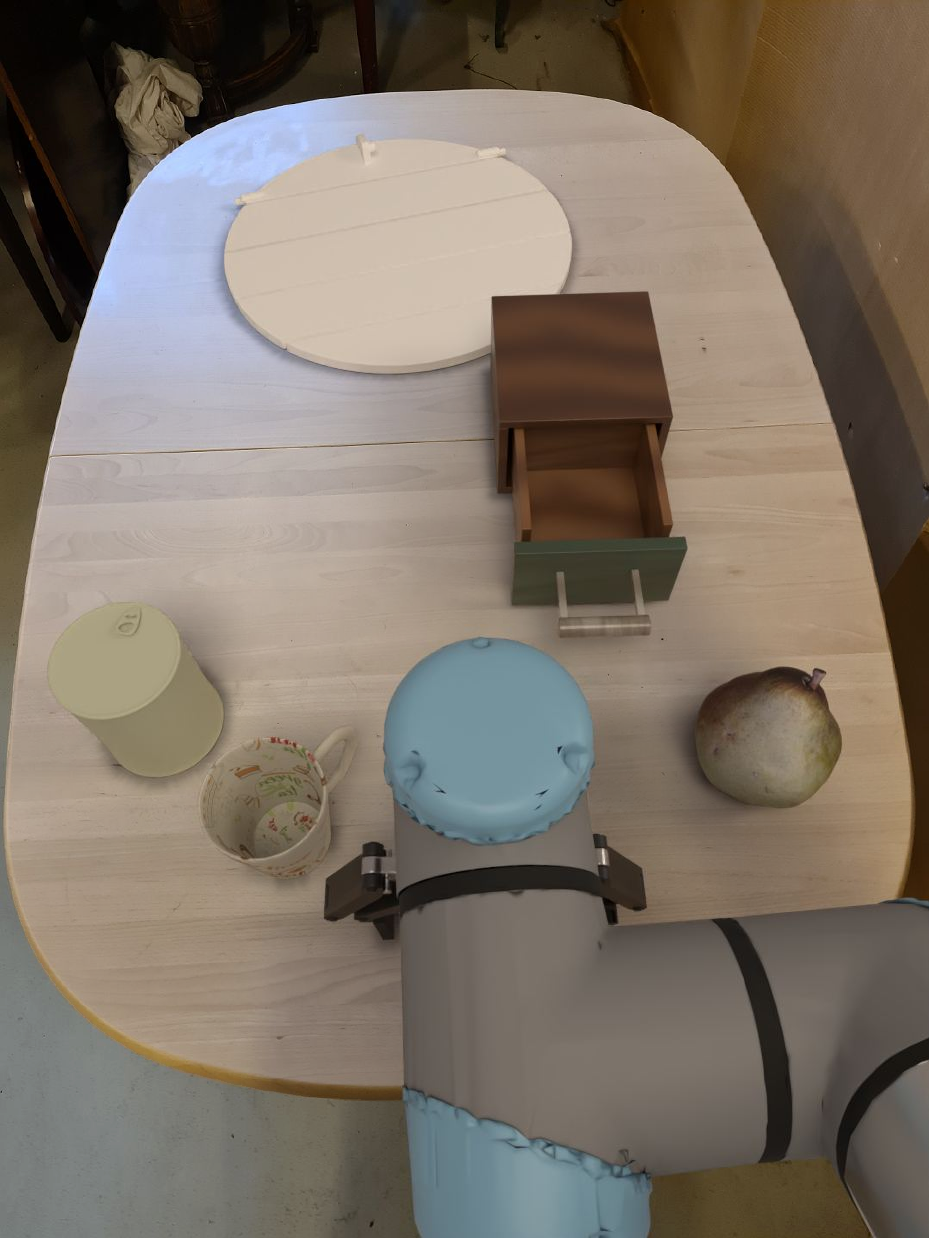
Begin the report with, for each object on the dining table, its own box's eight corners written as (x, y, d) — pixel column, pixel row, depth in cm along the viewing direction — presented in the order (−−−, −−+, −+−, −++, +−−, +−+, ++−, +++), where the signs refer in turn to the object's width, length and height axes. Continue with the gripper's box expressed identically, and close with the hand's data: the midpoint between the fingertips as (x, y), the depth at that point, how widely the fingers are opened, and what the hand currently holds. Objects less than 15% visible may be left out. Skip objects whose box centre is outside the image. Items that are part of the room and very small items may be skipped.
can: (238, 680, 71) (197, 607, 60) (202, 786, 66) (151, 726, 56) (133, 664, 72) (74, 588, 61) (90, 767, 67) (19, 705, 57)
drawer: (679, 661, 70) (700, 613, 63) (515, 666, 70) (519, 619, 63) (646, 468, 80) (661, 409, 73) (503, 472, 80) (505, 414, 73)
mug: (212, 852, 64) (170, 812, 55) (319, 723, 69) (296, 668, 60) (297, 919, 61) (267, 887, 53) (402, 780, 66) (391, 730, 58)
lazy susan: (204, 177, 105) (196, 150, 102) (508, 121, 110) (509, 93, 107) (256, 409, 86) (248, 384, 83) (622, 329, 91) (627, 302, 88)
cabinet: (653, 488, 80) (673, 416, 72) (497, 493, 80) (499, 422, 72) (632, 368, 88) (648, 291, 79) (490, 373, 88) (491, 295, 79)
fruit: (824, 731, 68) (887, 663, 57) (806, 843, 63) (870, 791, 53) (696, 692, 70) (734, 619, 59) (670, 798, 65) (706, 739, 55)
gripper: (723, 756, 44) (652, 857, 63) (242, 772, 44) (312, 868, 63) (751, 907, 41) (666, 967, 59) (226, 923, 41) (305, 978, 59)
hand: (484, 916), depth 61 cm, fingers open, 13 cm apart
